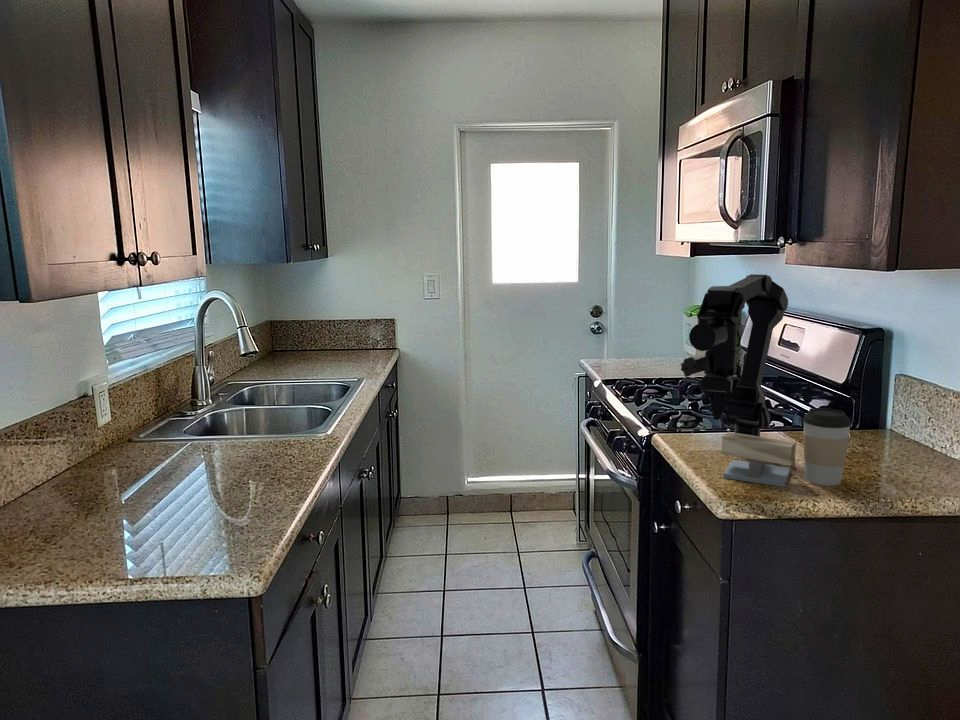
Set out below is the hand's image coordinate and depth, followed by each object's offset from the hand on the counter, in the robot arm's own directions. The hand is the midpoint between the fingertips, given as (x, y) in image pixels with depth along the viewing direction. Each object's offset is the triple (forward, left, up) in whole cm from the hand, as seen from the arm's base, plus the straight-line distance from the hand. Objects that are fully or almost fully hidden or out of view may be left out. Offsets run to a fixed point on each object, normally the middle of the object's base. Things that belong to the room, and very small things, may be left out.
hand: (719, 414), depth 150 cm
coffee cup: (-1, +21, -12) cm, 24 cm away
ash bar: (+2, +8, -8) cm, 12 cm away
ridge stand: (+2, +9, -12) cm, 15 cm away
